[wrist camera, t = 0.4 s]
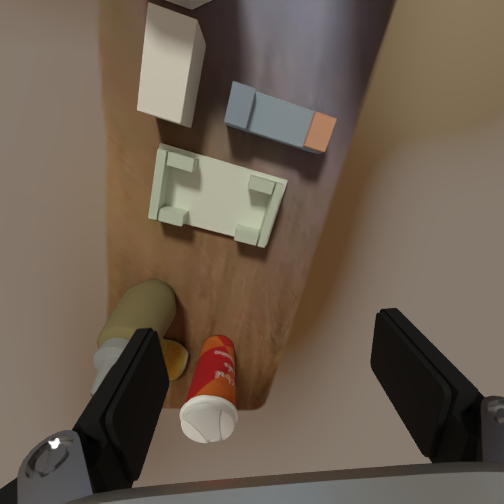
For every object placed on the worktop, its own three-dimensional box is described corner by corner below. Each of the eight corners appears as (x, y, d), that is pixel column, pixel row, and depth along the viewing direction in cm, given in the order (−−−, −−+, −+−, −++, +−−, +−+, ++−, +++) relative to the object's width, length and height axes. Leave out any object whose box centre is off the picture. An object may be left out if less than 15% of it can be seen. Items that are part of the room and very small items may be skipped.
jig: (162, 143, 33) (151, 142, 29) (286, 179, 35) (291, 183, 31) (152, 213, 36) (141, 220, 32) (266, 242, 38) (268, 252, 34)
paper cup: (244, 358, 46) (244, 439, 33) (204, 367, 47) (189, 450, 34) (232, 325, 43) (227, 399, 30) (190, 335, 44) (167, 411, 31)
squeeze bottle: (178, 319, 43) (136, 427, 26) (130, 310, 42) (53, 416, 25) (185, 277, 40) (142, 369, 23) (133, 267, 39) (49, 354, 22)
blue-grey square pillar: (234, 90, 31) (233, 80, 27) (325, 121, 32) (337, 116, 28) (226, 125, 32) (224, 121, 28) (313, 153, 34) (324, 153, 29)
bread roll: (141, 330, 44) (131, 347, 40) (192, 341, 45) (187, 358, 41) (135, 366, 47) (126, 384, 43) (183, 375, 48) (178, 394, 44)
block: (167, 31, 29) (148, 1, 23) (206, 44, 29) (197, 19, 24) (155, 117, 32) (137, 110, 26) (191, 128, 32) (180, 123, 27)
